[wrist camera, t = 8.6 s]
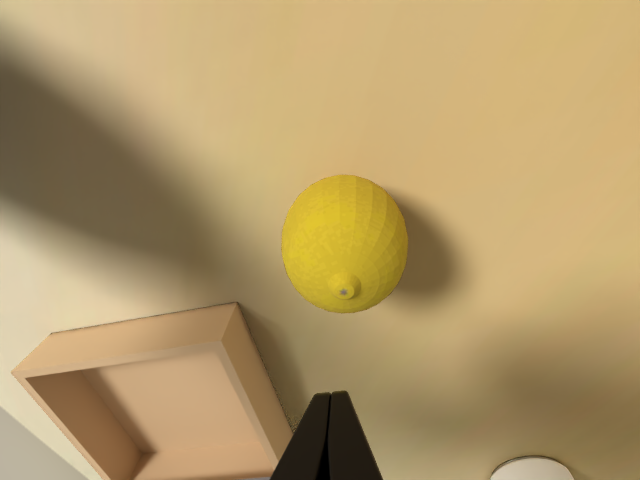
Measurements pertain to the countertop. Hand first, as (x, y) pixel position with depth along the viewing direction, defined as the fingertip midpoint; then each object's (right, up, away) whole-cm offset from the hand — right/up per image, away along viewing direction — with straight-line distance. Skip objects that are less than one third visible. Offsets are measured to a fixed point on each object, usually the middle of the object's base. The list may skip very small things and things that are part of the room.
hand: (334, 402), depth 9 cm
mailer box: (-11, -7, +18) cm, 22 cm away
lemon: (+1, +6, +11) cm, 12 cm away
